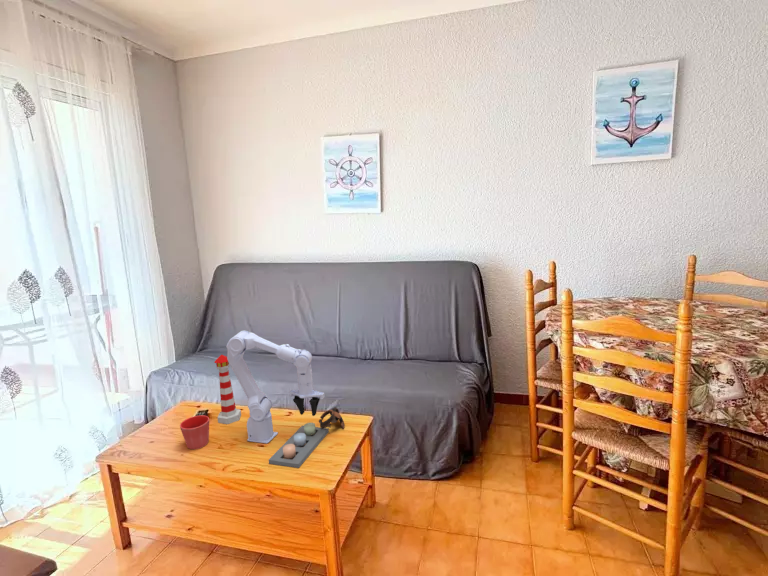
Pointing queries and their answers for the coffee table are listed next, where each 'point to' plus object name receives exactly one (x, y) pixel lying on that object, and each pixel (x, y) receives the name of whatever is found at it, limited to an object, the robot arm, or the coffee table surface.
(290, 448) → the terracotta button
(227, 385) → the decorative lighthouse
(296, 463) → the grey slotted board
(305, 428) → the sage button
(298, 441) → the slate button
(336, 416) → the brown curved piece
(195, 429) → the flower pot
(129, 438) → the coffee table surface
